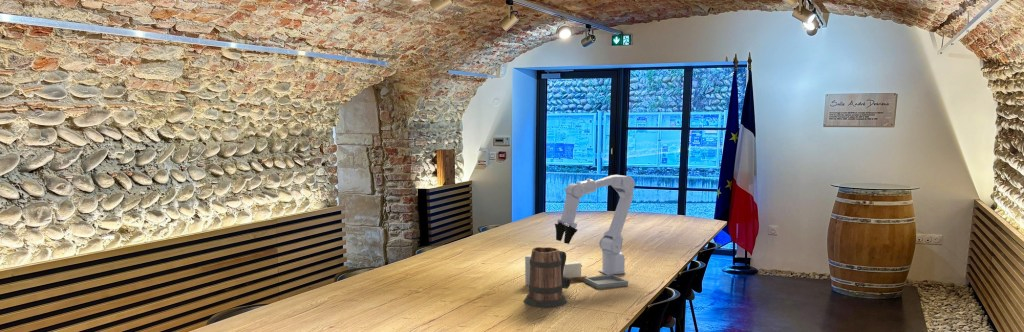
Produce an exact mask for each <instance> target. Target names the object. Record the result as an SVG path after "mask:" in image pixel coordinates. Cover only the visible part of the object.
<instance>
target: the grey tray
mask: <svg viewBox="0 0 1024 332" xmlns="http://www.w3.org/2000/svg"><path fill="white" fill-rule="evenodd" d="M583 282H584V284H586V285H589V286H591V287H593V288H595V289H596V290H605V288H606V289H611V288H621V287H622V286H623V287H629V281H628V280H626V279H624V278H622V277H620V276H617V275H616V274H611V275H606V274H604V275H596V276H595V275H594V276H587V277H585V278H584V281H583Z"/></svg>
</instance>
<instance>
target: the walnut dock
mask: <svg viewBox="0 0 1024 332" xmlns="http://www.w3.org/2000/svg"><path fill="white" fill-rule="evenodd" d="M585 277H588V276H587V275H581V276H579V277H570V280H571V283H570V284H572V283H580V282H584V278H585Z"/></svg>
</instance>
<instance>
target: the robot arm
mask: <svg viewBox="0 0 1024 332" xmlns="http://www.w3.org/2000/svg"><path fill="white" fill-rule="evenodd" d="M635 185H636V183H635V180H634V178H633V177H632V176H630V175H621V174H610V175H608V176H605V177H602V178H600V179H597V180H594V179H591V178H586V180H583V181H577V182H576V183H573V182H572V183H569V184H568V185H567V186H566V187H565V189H564V190H565V191H564V192H565V194H566V195H565V201H564V204H563V205H564V206H563V209H562V213H561V218H557V221H556V223H554V228H555V238H556V239H555V240H556V241H559V242H562V239H563V243H564V244H567V245H570V242H571V241H572V239H573V237H574V235H575V234H576V233H577V232H578V229H577V226H578V223H577V222H575V220H576V216H577V210H578V207H579V204H580V199H581V198H583V196H584V195H588V194H591V193H595V192H596V191H597V189H600V188H603V187H608V186H611V187H612V188H613V189H614V190H615V191H616V192H617V194H618V196H619V199H618V202H617V205H616V208H615V210H614V214H613V216H612V220H611V223H610V224H609V228H608V230H607V231H605V232H604V234H603V236H602V237H601V238H600V240H599V242H598V243H599V244H598V245H599V247H600V249H601V252H602V266H601V267H602V269H598V272H599V273H602V274H604V275H619V274H626V271H625V266H626V265H625V262H626V261H625V259H626V258H625V254H624V253H623V252H621V251H622V250H623V241H624V237H623V236H622V232H623V231H622V230H623V228H624V225H625V222H626V219H627V216H628V213H629V210H630V208H631V204H632V201H633V199H634V189H635ZM563 237H564V238H563Z"/></svg>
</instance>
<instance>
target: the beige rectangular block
mask: <svg viewBox="0 0 1024 332" xmlns="http://www.w3.org/2000/svg"><path fill="white" fill-rule="evenodd" d="M582 268H583V265H582V263H581V262H579V261H577V260H576V261H566V262H565V266H564V270H563V277H567V278H570V277H579V276H582Z"/></svg>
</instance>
